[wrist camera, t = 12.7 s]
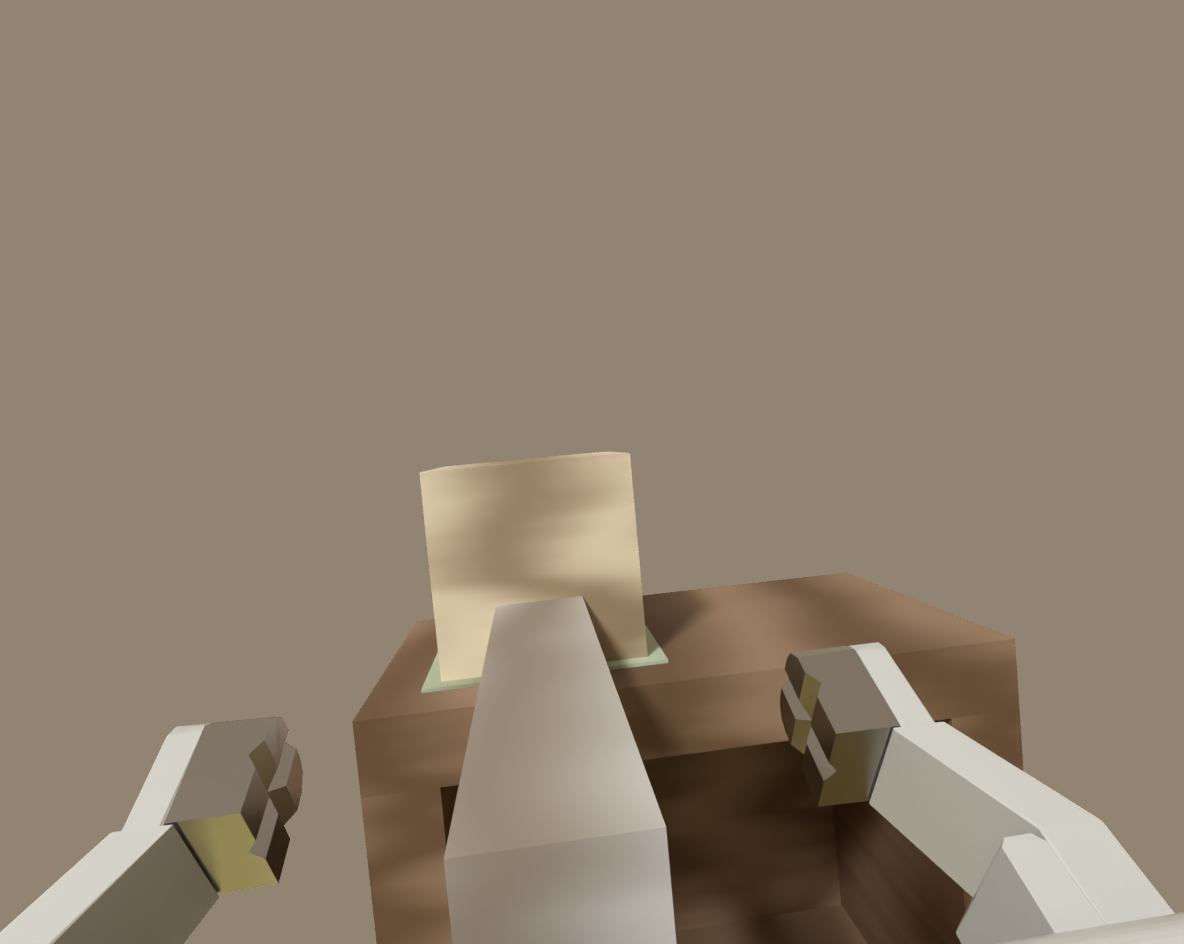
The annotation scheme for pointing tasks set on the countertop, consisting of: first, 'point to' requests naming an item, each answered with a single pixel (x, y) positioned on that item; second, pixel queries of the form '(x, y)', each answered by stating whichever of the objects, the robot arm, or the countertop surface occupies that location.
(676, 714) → the walnut stand
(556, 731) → the handle block
